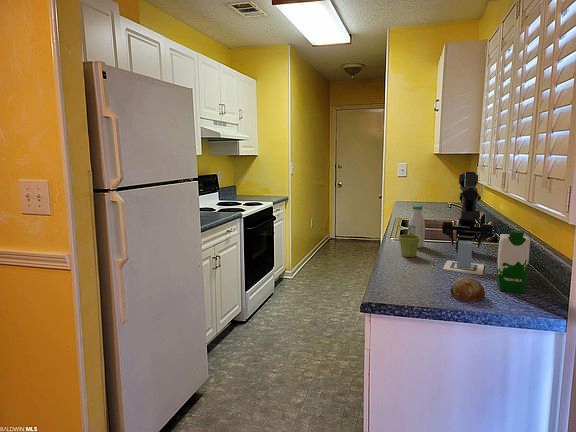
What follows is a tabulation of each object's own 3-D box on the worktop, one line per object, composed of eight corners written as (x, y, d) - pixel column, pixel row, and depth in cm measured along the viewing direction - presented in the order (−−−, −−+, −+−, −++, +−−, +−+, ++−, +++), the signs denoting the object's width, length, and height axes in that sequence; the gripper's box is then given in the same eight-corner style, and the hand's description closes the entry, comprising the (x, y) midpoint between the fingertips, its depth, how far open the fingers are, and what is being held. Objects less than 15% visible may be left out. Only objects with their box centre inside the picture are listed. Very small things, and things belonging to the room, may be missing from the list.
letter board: (484, 265, 166) (484, 264, 166) (482, 275, 154) (482, 273, 154) (447, 261, 172) (447, 260, 172) (442, 270, 160) (442, 268, 160)
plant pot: (412, 259, 176) (412, 239, 175) (393, 255, 183) (394, 236, 182) (423, 256, 182) (424, 236, 181) (405, 252, 189) (406, 233, 188)
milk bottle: (421, 244, 204) (423, 204, 201) (425, 248, 196) (427, 206, 193) (405, 244, 205) (407, 204, 201) (408, 248, 197) (410, 206, 194)
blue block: (457, 264, 166) (459, 240, 165) (470, 265, 164) (472, 241, 163) (456, 267, 162) (458, 242, 160) (470, 268, 160) (472, 243, 158)
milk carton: (497, 291, 136) (502, 232, 132) (493, 283, 144) (498, 227, 141) (528, 294, 133) (533, 233, 130) (522, 286, 141) (527, 228, 138)
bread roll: (449, 302, 136) (440, 281, 135) (477, 288, 137) (468, 267, 135) (464, 313, 127) (455, 291, 125) (494, 299, 127) (485, 276, 125)
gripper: (443, 202, 169) (439, 233, 161) (494, 204, 161) (492, 237, 153) (444, 218, 178) (440, 248, 169) (492, 221, 170) (491, 253, 162)
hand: (465, 246), depth 163 cm, fingers open, 9 cm apart
